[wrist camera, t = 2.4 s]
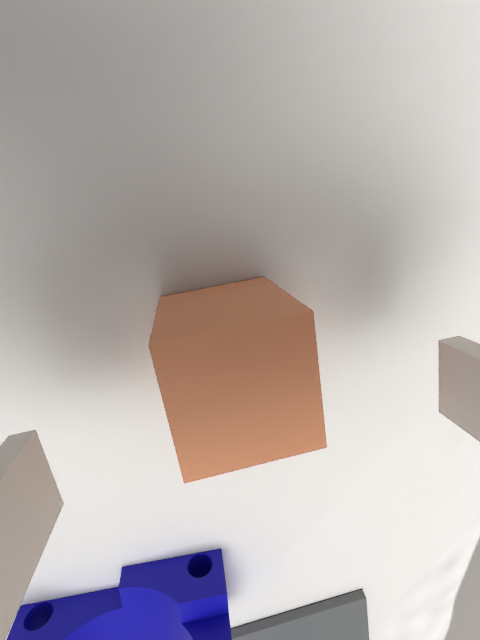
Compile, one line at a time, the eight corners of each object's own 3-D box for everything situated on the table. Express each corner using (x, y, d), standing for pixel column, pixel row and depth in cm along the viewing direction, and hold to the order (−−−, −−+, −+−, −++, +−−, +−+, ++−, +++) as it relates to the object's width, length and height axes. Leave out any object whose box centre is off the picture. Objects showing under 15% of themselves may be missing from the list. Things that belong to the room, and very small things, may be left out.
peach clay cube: (159, 296, 17) (148, 344, 11) (263, 276, 18) (313, 310, 11) (182, 391, 19) (184, 483, 12) (277, 369, 19) (326, 447, 13)
